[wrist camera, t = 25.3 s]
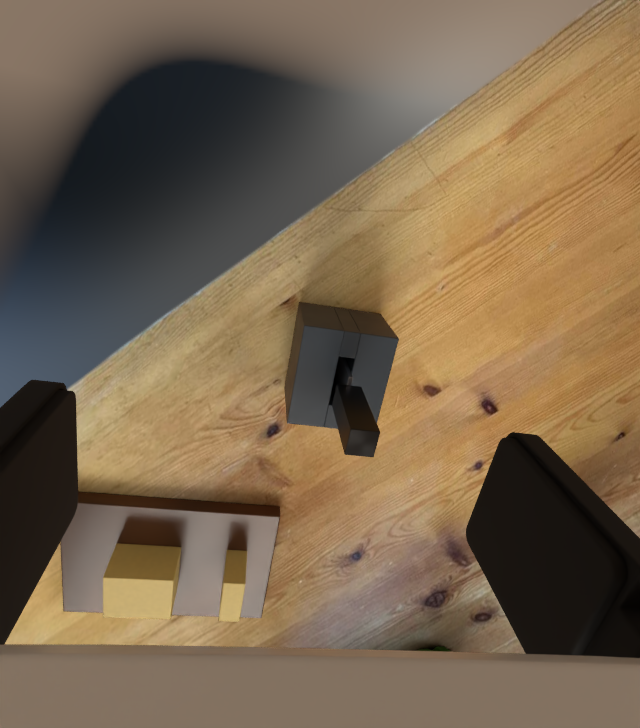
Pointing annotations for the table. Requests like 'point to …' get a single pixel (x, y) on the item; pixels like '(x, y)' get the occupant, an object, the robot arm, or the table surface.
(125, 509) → the board
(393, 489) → the table surface
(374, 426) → the knife
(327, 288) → the table surface
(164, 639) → the table surface
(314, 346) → the knife block
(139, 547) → the butter
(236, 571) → the butter slice
